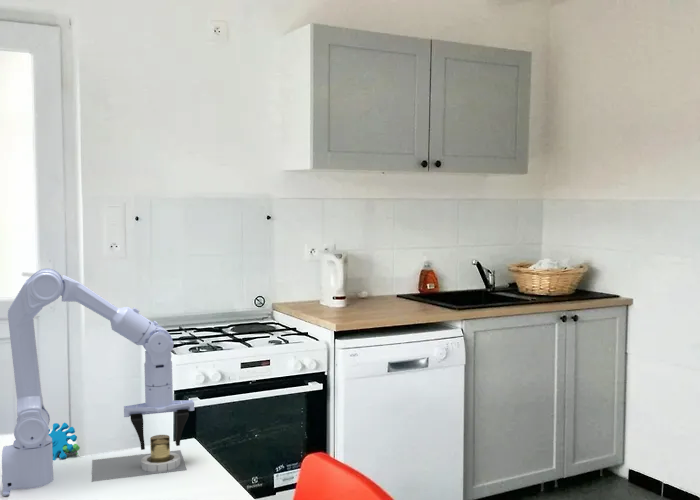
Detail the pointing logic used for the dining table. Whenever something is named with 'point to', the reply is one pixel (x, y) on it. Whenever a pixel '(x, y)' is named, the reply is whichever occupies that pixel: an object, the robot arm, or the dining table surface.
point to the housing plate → (135, 466)
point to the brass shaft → (160, 448)
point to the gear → (63, 441)
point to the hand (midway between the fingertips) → (160, 446)
